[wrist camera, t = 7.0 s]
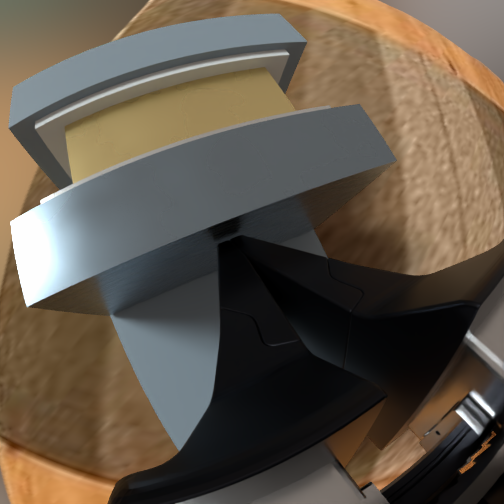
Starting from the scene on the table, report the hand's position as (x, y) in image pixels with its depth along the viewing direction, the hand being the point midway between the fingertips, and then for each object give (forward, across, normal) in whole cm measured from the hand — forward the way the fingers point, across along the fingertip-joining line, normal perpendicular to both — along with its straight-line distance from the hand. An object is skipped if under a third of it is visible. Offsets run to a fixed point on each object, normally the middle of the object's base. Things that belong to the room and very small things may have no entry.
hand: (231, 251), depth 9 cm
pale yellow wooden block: (+7, 0, +1) cm, 7 cm away
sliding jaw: (+5, 0, +3) cm, 6 cm away
